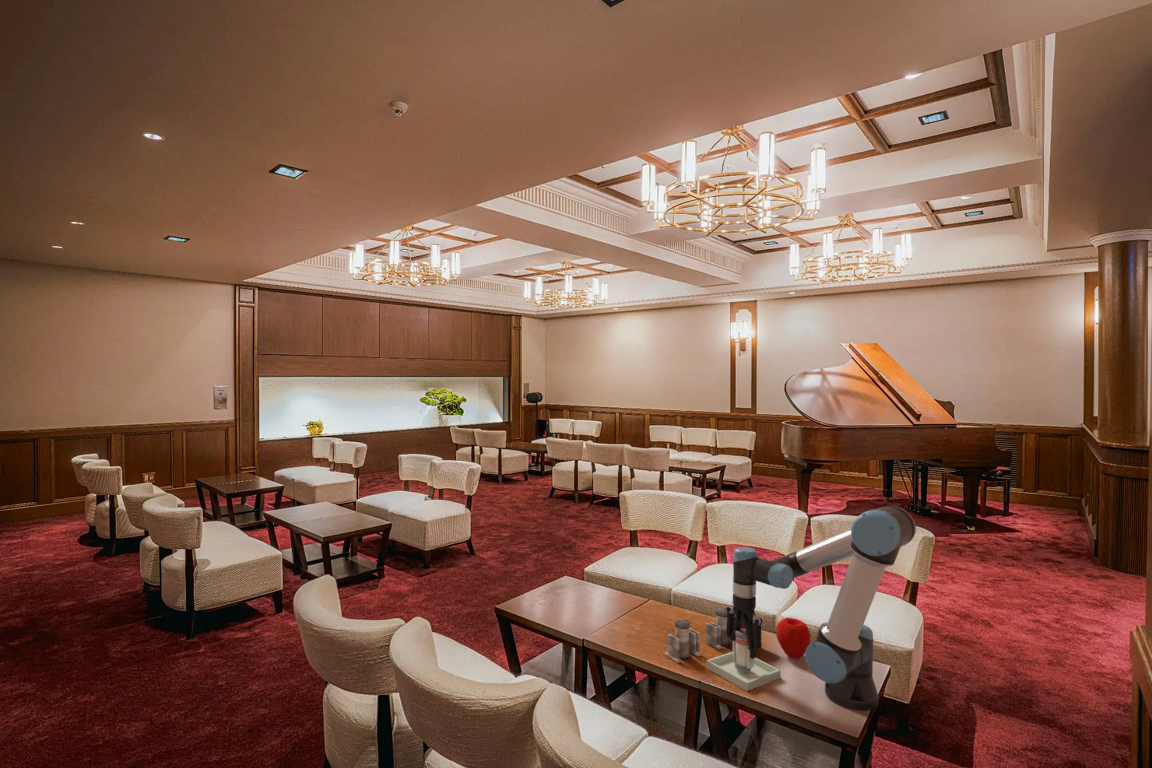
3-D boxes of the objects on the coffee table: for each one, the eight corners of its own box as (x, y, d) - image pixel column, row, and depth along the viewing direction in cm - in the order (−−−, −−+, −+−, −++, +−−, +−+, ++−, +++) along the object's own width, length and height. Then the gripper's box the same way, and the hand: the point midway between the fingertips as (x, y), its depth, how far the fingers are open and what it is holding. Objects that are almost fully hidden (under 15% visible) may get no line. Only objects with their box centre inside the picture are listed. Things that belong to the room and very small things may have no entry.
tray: (780, 678, 188) (780, 670, 188) (747, 691, 179) (747, 683, 179) (738, 656, 203) (739, 649, 203) (706, 668, 194) (706, 660, 194)
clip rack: (739, 642, 214) (740, 611, 214) (677, 663, 197) (677, 628, 197) (725, 635, 220) (726, 604, 220) (663, 655, 203) (664, 621, 203)
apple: (768, 650, 208) (769, 614, 208) (796, 647, 211) (797, 611, 211) (788, 665, 197) (789, 627, 197) (817, 662, 200) (818, 624, 200)
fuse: (754, 669, 190) (755, 633, 190) (743, 673, 187) (744, 636, 187) (742, 662, 195) (742, 627, 195) (731, 666, 192) (731, 630, 192)
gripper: (774, 601, 186) (773, 672, 185) (730, 584, 201) (729, 650, 201) (759, 605, 181) (758, 678, 181) (715, 588, 197) (714, 654, 197)
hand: (743, 663), depth 191 cm, fingers open, 6 cm apart
